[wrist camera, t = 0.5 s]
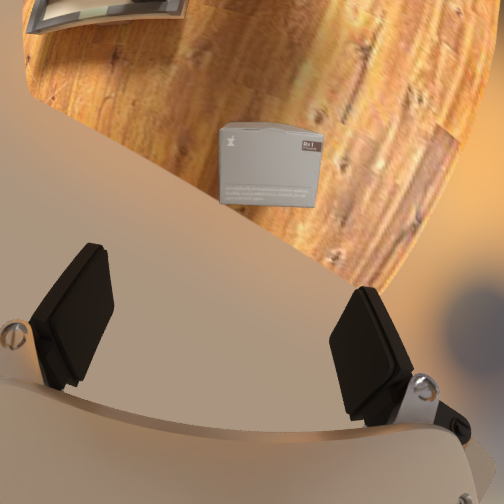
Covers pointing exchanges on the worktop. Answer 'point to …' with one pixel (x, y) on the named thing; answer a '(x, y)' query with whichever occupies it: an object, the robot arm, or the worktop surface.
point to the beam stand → (98, 13)
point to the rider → (145, 0)
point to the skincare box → (268, 164)
